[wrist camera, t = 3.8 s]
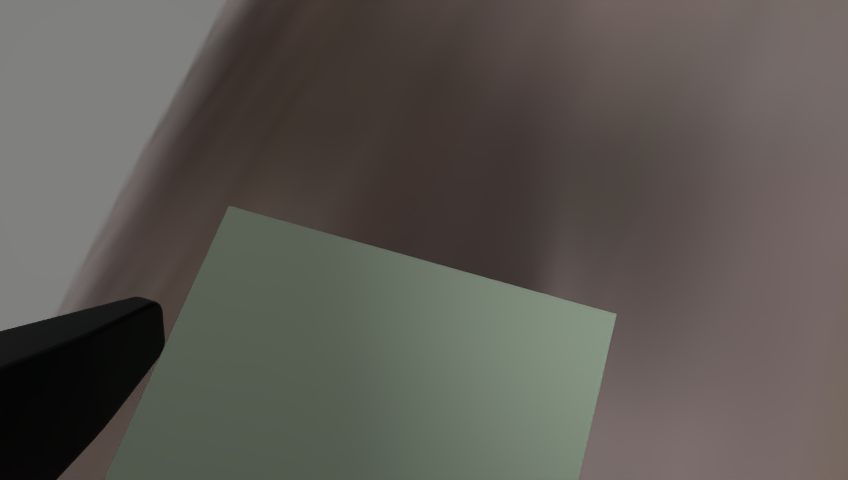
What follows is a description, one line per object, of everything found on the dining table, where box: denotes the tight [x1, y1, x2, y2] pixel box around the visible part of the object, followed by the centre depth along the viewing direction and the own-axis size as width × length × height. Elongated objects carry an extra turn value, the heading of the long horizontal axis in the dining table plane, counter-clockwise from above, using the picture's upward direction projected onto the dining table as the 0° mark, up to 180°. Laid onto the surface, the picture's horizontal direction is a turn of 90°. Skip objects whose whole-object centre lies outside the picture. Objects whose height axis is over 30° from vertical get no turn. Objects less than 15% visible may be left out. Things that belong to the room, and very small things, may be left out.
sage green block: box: [104, 206, 617, 480], centre depth 11 cm, size 4×4×11 cm
